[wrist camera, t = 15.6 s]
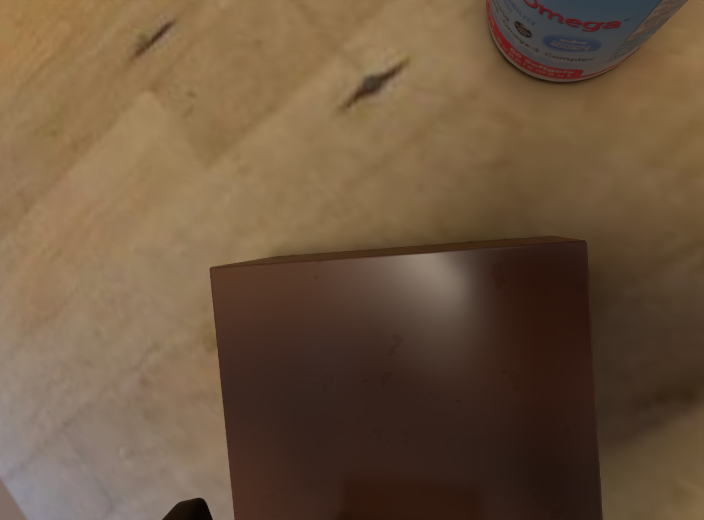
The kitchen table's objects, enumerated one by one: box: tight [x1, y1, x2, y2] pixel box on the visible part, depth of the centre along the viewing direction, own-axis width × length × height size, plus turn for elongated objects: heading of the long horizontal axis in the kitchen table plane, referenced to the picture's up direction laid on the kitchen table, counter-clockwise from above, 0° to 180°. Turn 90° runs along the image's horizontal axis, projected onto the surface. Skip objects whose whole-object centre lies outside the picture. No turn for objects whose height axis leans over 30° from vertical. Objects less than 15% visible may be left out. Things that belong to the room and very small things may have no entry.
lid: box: [210, 240, 603, 520], centre depth 13 cm, size 11×12×4 cm
